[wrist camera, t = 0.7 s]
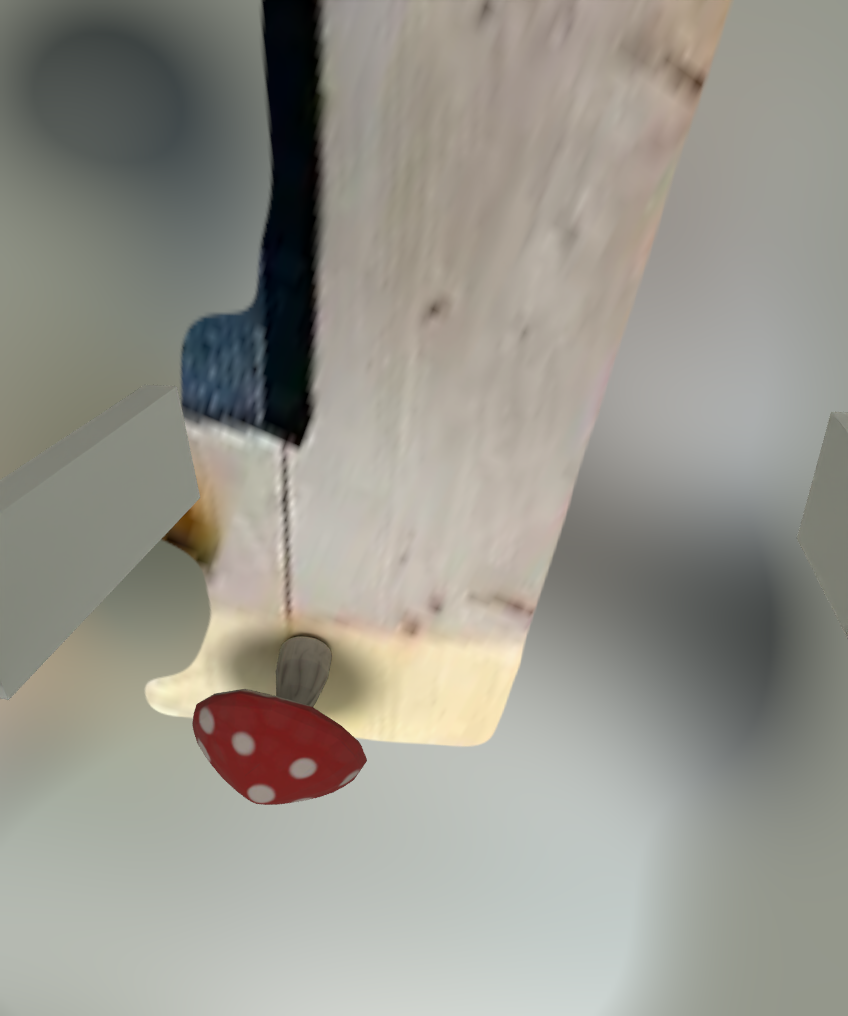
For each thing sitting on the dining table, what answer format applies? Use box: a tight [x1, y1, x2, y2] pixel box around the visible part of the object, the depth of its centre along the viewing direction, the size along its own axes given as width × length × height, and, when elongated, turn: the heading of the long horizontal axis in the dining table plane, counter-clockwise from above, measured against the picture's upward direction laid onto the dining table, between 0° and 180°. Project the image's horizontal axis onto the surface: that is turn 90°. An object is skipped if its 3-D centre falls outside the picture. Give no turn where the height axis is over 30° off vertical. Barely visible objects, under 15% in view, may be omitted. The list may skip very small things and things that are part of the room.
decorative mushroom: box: [193, 636, 367, 805], centre depth 65 cm, size 16×16×15 cm
